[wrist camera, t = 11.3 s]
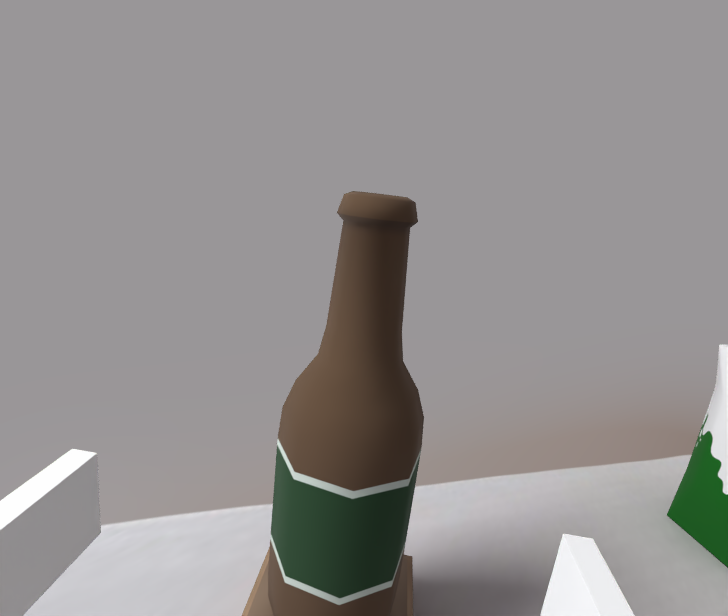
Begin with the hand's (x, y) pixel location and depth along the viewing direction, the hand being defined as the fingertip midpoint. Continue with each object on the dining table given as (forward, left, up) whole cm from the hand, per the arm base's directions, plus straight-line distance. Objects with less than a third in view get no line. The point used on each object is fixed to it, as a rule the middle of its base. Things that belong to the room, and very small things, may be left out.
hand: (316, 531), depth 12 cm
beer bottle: (0, -11, -15) cm, 18 cm away
